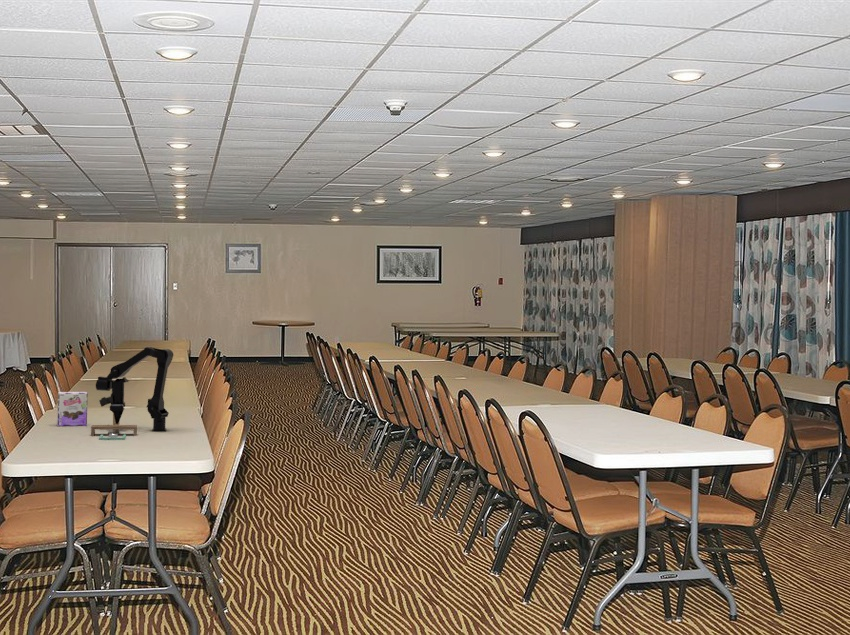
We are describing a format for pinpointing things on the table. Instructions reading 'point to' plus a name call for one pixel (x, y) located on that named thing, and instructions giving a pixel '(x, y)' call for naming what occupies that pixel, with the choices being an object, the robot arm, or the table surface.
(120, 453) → the table surface
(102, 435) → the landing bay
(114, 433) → the steel puck
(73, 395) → the candy box
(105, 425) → the walnut plinth
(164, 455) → the table surface
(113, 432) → the try square
